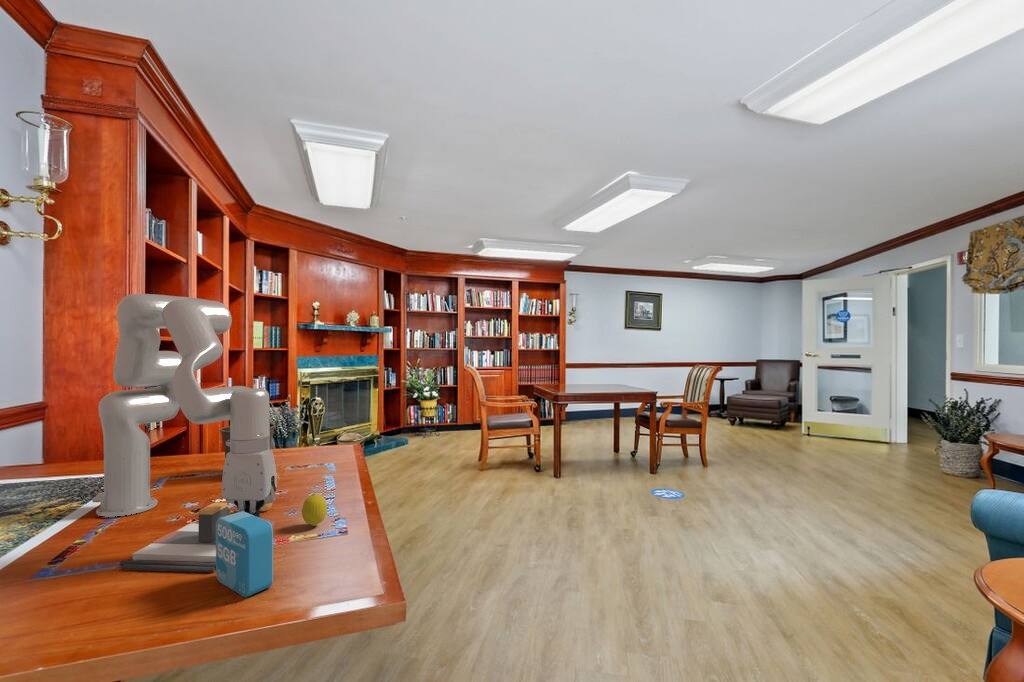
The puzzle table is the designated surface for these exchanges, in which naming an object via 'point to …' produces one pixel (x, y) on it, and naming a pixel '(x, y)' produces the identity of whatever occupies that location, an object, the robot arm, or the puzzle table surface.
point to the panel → (179, 547)
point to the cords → (168, 566)
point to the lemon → (314, 509)
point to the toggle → (210, 521)
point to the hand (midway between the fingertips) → (251, 529)
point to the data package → (244, 553)
